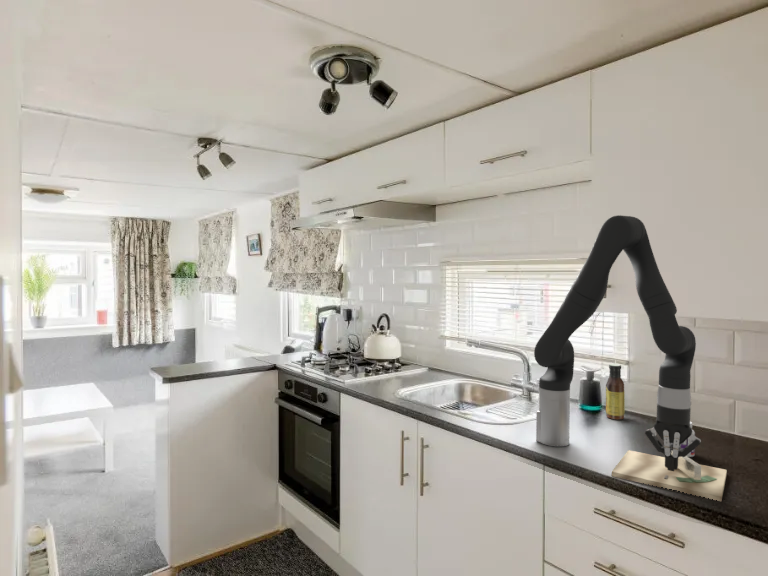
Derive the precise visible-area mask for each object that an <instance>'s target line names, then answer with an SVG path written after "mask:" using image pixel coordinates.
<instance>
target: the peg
mask: <svg viewBox="0 0 768 576" xmlns="http://www.w3.org/2000/svg"><path fill="white" fill-rule="evenodd" d="M680 449H681V444H680ZM671 450H672V452H671V455H672V453H673V443H671ZM701 465H702V464H700V465H699V463H698V462H696V461H695V460H693V459H692V458H691V457H687V456H685V457H678V468H679V469H680V470H682V471H683V472H684V473H686V474H687V475H688V476H690V477H691V478H693V479H694V480H701Z"/></svg>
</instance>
